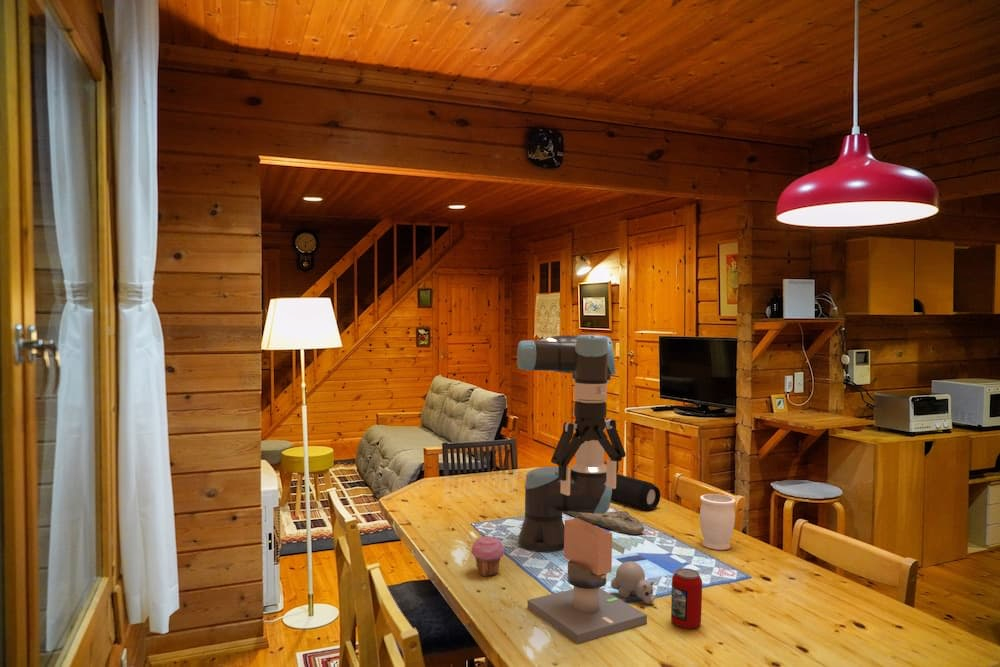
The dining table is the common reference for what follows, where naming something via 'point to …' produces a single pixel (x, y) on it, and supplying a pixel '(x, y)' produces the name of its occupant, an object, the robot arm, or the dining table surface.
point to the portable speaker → (635, 492)
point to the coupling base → (586, 613)
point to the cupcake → (487, 554)
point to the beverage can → (686, 598)
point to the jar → (717, 520)
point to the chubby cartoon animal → (633, 582)
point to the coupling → (587, 553)
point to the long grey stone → (612, 521)
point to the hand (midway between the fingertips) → (588, 490)
